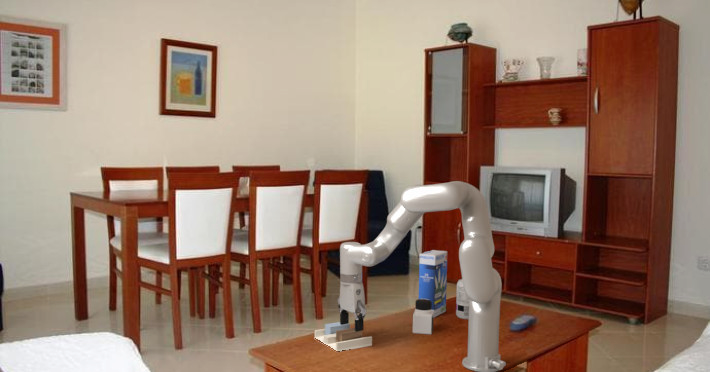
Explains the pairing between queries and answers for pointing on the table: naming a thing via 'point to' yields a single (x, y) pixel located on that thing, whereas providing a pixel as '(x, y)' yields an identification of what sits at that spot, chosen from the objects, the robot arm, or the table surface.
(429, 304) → the medicine bottle
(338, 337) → the walnut bar
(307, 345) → the table surface
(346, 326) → the slate bar
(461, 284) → the supplement can
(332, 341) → the slot board
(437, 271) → the string lights box
